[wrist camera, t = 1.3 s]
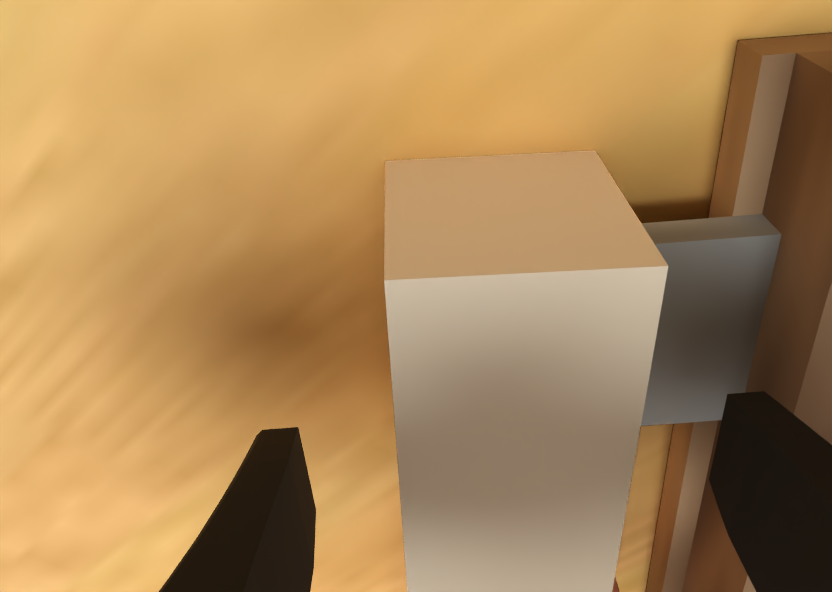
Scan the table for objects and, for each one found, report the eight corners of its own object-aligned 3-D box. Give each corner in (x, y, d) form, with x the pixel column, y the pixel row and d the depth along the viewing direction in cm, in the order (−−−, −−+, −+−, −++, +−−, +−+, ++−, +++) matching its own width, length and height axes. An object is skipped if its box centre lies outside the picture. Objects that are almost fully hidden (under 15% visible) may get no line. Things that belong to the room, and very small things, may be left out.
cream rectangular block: (564, 433, 18) (611, 594, 14) (404, 442, 18) (408, 605, 14) (592, 147, 14) (667, 266, 10) (385, 157, 14) (383, 280, 10)
